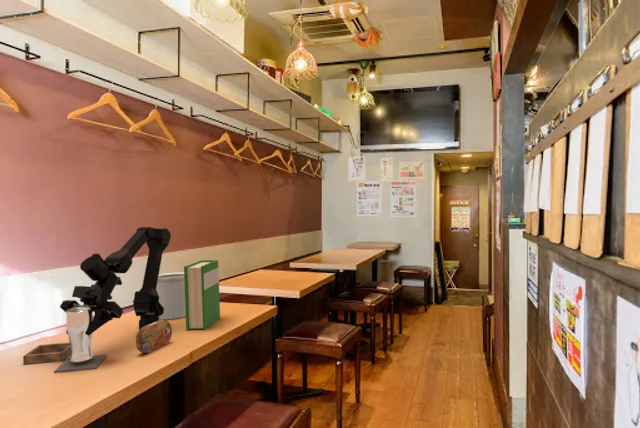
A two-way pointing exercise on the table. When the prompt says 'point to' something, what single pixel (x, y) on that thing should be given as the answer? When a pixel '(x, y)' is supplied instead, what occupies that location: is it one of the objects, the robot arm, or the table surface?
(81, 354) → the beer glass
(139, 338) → the tin
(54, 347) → the brown square tray
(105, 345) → the table surface
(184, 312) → the utensil holder
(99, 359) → the rubber mat
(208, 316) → the hardback book
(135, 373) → the table surface
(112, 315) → the robot arm
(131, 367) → the table surface
